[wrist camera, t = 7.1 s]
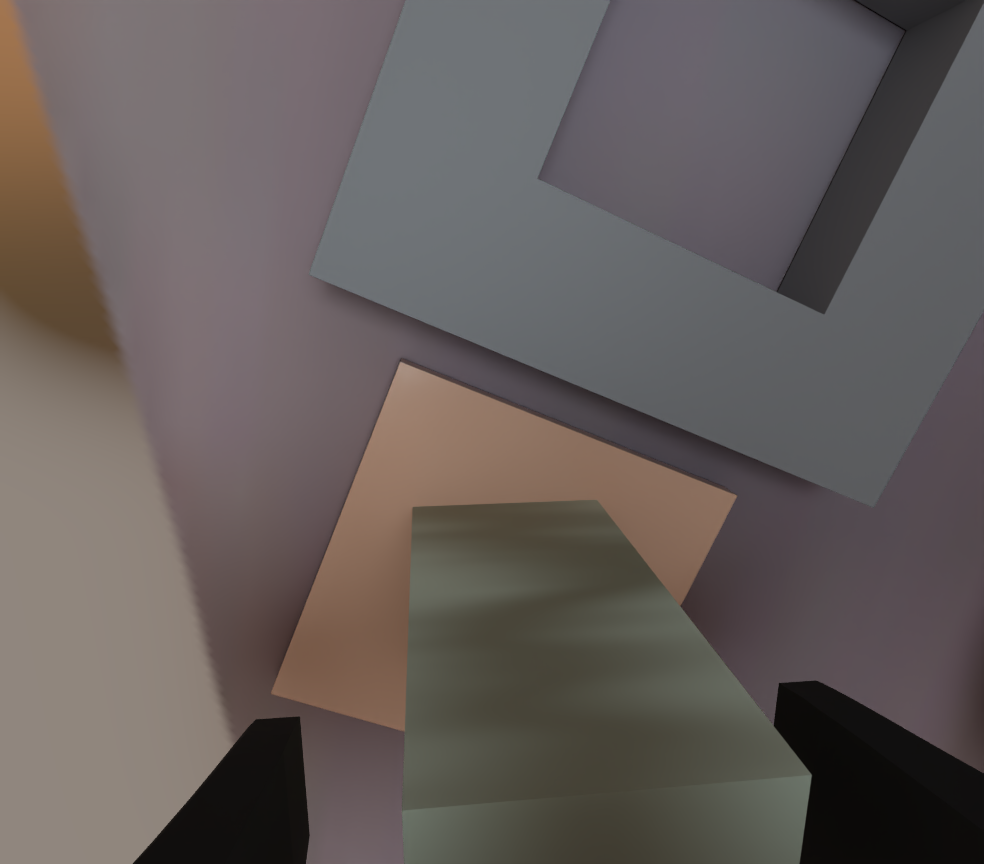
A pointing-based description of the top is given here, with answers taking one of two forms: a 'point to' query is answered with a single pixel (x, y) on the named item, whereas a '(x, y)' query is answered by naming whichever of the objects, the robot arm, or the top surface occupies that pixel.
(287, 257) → the top surface
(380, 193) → the pocket board
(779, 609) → the top surface
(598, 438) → the coaster
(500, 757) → the sage block
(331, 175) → the top surface
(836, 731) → the robot arm
